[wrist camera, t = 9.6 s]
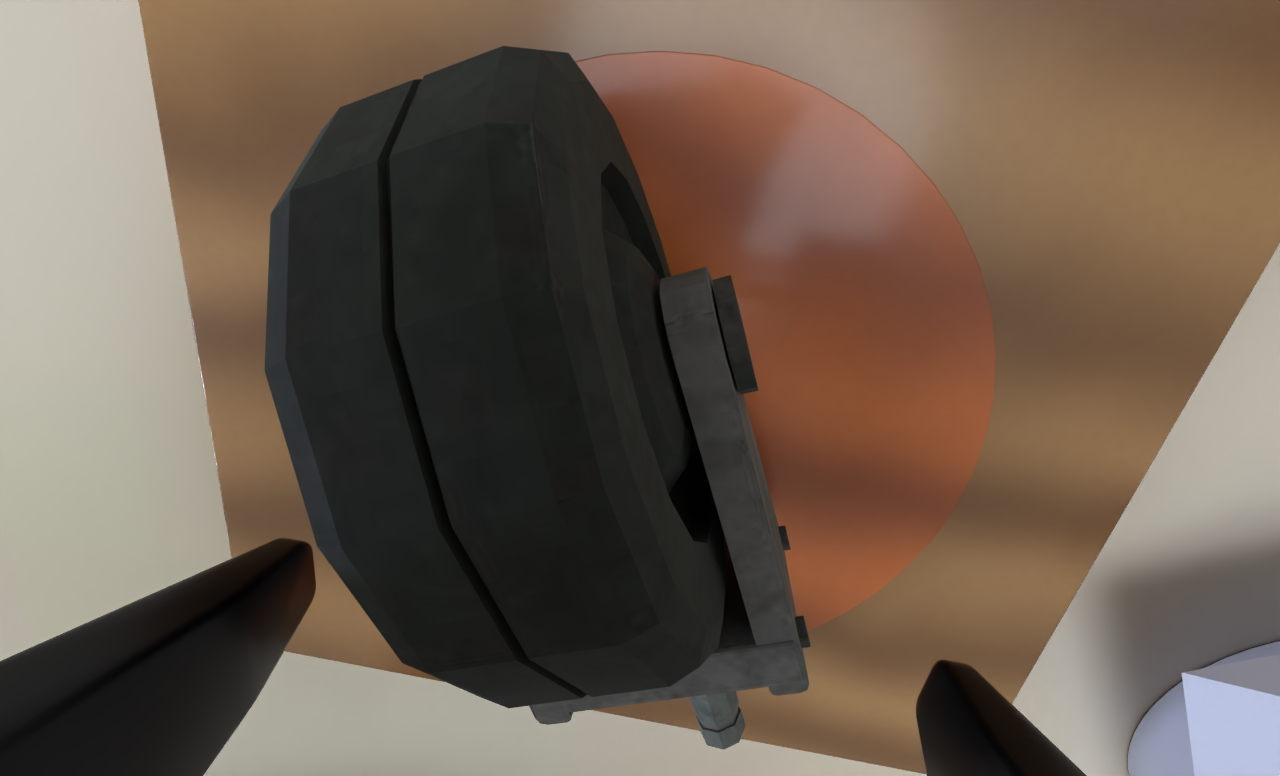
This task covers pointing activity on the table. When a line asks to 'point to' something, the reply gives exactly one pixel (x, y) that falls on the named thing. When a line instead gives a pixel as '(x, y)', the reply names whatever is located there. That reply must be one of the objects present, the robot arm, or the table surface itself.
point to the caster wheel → (524, 405)
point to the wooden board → (819, 278)
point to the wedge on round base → (1215, 721)
